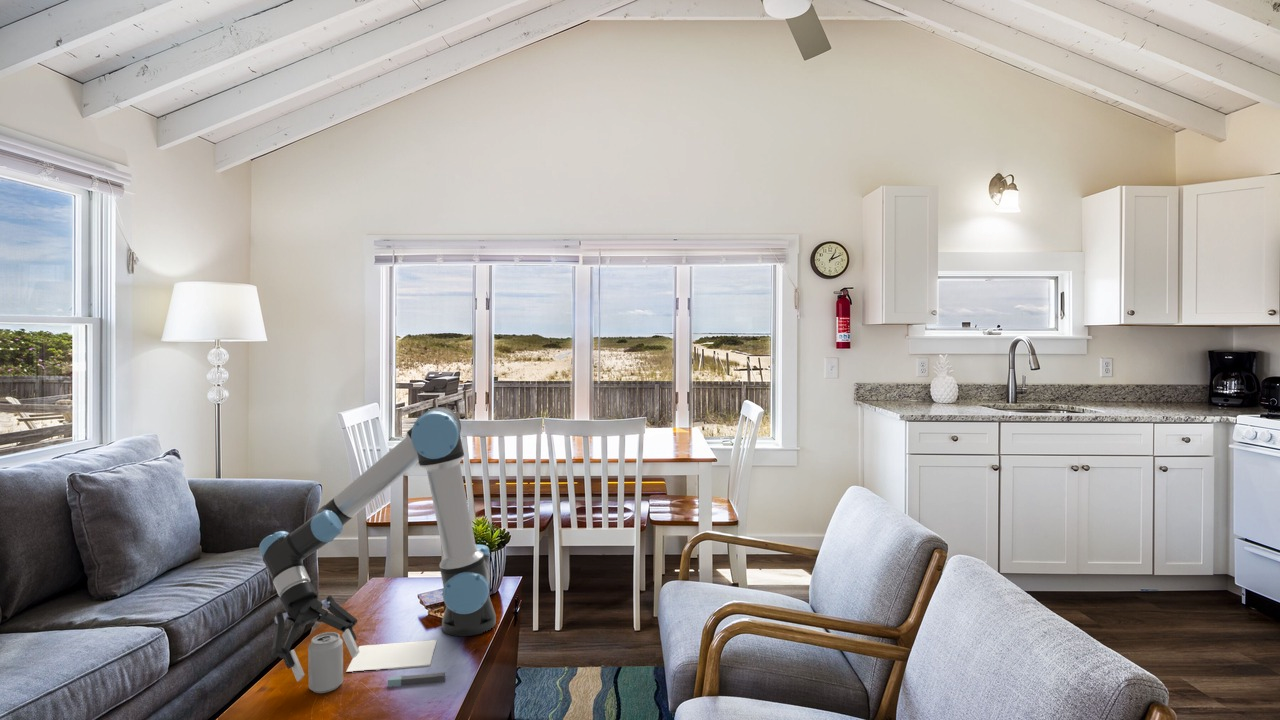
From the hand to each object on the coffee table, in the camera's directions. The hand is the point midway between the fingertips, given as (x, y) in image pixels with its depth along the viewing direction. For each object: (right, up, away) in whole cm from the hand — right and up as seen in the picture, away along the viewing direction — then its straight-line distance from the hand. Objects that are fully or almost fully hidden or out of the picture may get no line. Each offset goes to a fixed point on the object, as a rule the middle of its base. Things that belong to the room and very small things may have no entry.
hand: (329, 666), depth 156 cm
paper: (+9, -5, +16) cm, 19 cm away
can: (-1, -6, +1) cm, 6 cm away
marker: (+20, -5, +3) cm, 21 cm away
